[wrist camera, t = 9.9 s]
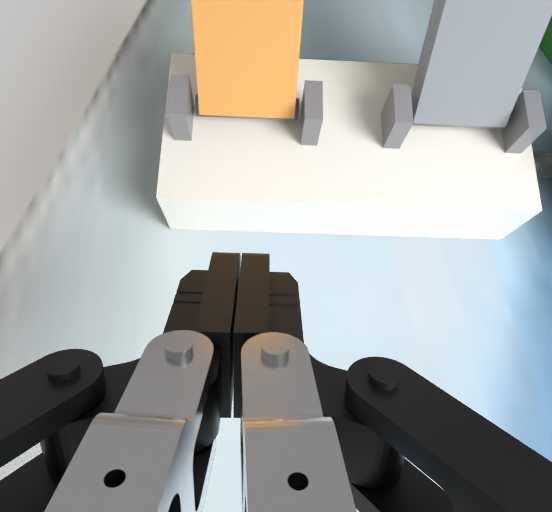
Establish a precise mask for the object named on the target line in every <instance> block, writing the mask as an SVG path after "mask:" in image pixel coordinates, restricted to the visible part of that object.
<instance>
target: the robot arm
mask: <svg viewBox="0 0 552 512" xmlns="http://www.w3.org/2000/svg"><path fill="white" fill-rule="evenodd" d="M233 388H234V418H241V433H240V453H241V492H242V512H356V509H357V510H358V511H359V512H552V462H551V461H549V460H548V459H546V458H545V457H543V456H542V455H540V454H539V453H537V452H536V451H534V450H532V449H531V448H529V447H528V446H526V445H525V444H523V443H522V442H520V441H519V440H517V439H516V438H514V437H513V436H511V435H510V434H508V433H507V432H505V431H504V430H502V429H501V428H499V427H498V426H496V425H495V424H493V423H492V422H490V421H489V420H487V419H486V418H484V417H483V416H481V415H480V414H478V413H477V412H475V411H473V410H472V409H470V408H469V407H467V406H466V405H464V404H463V403H461V402H460V401H458V400H457V399H455V398H454V397H452V396H451V395H449V394H448V393H446V392H445V391H443V390H442V389H440V388H439V387H437V386H436V385H434V384H433V383H431V382H430V381H428V380H427V379H425V378H424V377H422V376H421V375H419V374H418V373H416V372H414V371H413V370H411V369H410V368H408V367H407V366H405V365H404V364H402V363H400V362H398V361H395V360H392V359H389V358H384V357H367V358H363V359H360V360H358V361H356V362H354V363H353V364H352V365H351V366H350V368H349V369H348V371H346V370H342V369H338V368H334V367H331V366H328V365H325V364H323V363H321V362H319V361H318V360H316V359H315V358H313V357H312V356H311V355H310V354H309V351H308V349H307V347H306V345H305V344H304V340H303V330H302V320H301V310H300V300H299V290H298V283H297V281H296V280H295V279H294V278H293V277H292V276H291V274H290V273H287V272H269V254H258V253H242V260H241V269H240V253H220V252H213V253H212V257H211V261H210V265H209V270H191V271H190V272H189V273H188V274H187V275H186V276H184V277H183V278H182V279H181V280H180V283H179V286H178V289H177V294H176V295H175V298H174V303H173V305H172V308H171V311H170V314H169V317H168V320H167V323H166V326H165V329H164V332H163V334H162V335H159V336H157V337H156V338H154V339H153V340H152V341H150V343H149V344H148V345H147V346H146V348H145V350H144V352H143V354H142V356H141V358H139V359H137V360H134V361H131V362H127V363H122V364H117V365H112V366H107V367H103V364H102V360H101V359H100V357H99V356H98V355H97V354H95V353H93V352H91V351H88V350H83V349H68V350H62V351H58V352H55V353H52V354H49V355H47V356H45V357H43V358H41V359H39V360H37V361H35V362H33V363H31V364H29V365H27V366H25V367H23V368H22V369H20V370H18V371H16V372H14V373H12V374H10V375H8V376H6V377H4V378H2V379H0V468H1V467H2V466H4V465H5V464H7V463H8V462H10V461H11V460H13V459H14V458H16V457H18V456H19V455H21V454H22V453H24V452H25V451H27V450H28V449H30V448H31V447H33V446H35V445H36V444H38V443H39V442H40V445H41V449H42V453H41V454H40V455H38V456H37V457H35V458H34V459H32V460H31V461H29V462H28V463H26V464H25V465H23V466H22V467H20V468H19V469H17V470H16V471H14V472H13V473H11V474H10V475H8V476H7V477H5V478H4V479H2V480H1V481H0V512H202V511H203V506H204V502H205V497H206V493H207V488H208V483H209V479H210V474H211V469H212V465H213V460H214V455H215V451H216V436H217V434H218V430H219V423H220V418H231V409H232V399H233ZM405 457H406V458H407V459H408V460H409V461H410V462H412V463H413V464H414V465H415V466H417V467H418V468H419V469H420V470H421V471H423V472H424V473H425V474H426V475H427V476H429V477H430V478H431V479H432V480H434V481H435V482H436V483H437V484H438V485H440V486H441V487H442V488H443V489H444V490H443V489H441V488H440V487H439V486H438V485H437V484H435V483H434V482H433V481H432V480H430V479H429V478H428V477H427V476H426V475H424V474H423V473H422V472H421V471H420V470H418V469H417V468H416V467H415V466H413V465H412V464H411V463H410V462H409V461H407V460H406V459H405Z"/></svg>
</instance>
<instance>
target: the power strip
mask: <svg viewBox="0 0 552 512" xmlns="http://www.w3.org/2000/svg"><path fill="white" fill-rule="evenodd" d="M417 68H418V64H402V63H380V62H358V61H335V60H313V59H299V68H298V80H297V93H296V98H299V117H298V120H276V119H251V118H226V117H201V116H196V112H195V97H196V94H198V89H197V75H196V61H195V54H179V53H171V57H170V67H169V77H168V86H167V96H166V106H165V116H164V125H163V135H162V145H161V154H160V164H159V174H158V183H157V193H156V198H157V200H158V203H159V205H160V207H161V209H162V211H163V214H164V216H165V218H166V220H167V222H168V225H169V227H170V229H191V230H222V231H253V232H284V233H315V234H346V235H377V236H408V237H439V238H469V239H500V240H501V239H503V238H504V237H505V236H507V235H508V234H510V233H511V232H513V231H514V230H515V229H517V228H518V227H520V226H521V225H523V224H524V223H525V222H527V221H528V220H530V219H531V218H533V217H534V216H535V215H537V214H538V213H540V212H541V211H542V206H541V200H540V193H539V187H538V181H537V178H552V152H533V150H532V144H531V143H532V142H533V141H534V140H535V139H537V138H538V137H539V136H540V135H541V134H542V133H543V132H544V131H545V130H546V129H547V127H546V121H545V115H544V109H543V104H542V98H541V92H540V90H523V89H522V88H521V91H520V93H519V96H518V98H517V100H516V103H515V105H514V108H513V110H512V112H511V117H510V121H509V124H508V126H507V127H506V128H505V129H494V128H469V127H445V126H420V125H413V110H412V98H411V92H412V88H413V84H414V80H415V76H416V72H417Z"/></svg>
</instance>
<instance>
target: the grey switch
mask: <svg viewBox="0 0 552 512" xmlns="http://www.w3.org/2000/svg"><path fill="white" fill-rule="evenodd" d="M551 16H552V0H435V1H434V5H433V9H432V13H431V17H430V21H429V25H428V29H427V33H426V37H425V41H424V44H423V48H422V52H421V56H420V60H419V64H418V68H417V72H416V76H415V80H414V84H413V88H412V92H411V98H412V110H413V125H420V126H445V127H469V128H494V129H505V128H506V127H507V126H508V124H509V121H510V117H511V112H512V110H513V108H514V105H515V103H516V100H517V98H518V96H519V93H520V91H521V88H522V86H523V83H524V81H525V79H526V76H527V74H528V71H529V69H530V67H531V64H532V62H533V59H534V57H535V55H536V52H537V50H538V47H539V45H540V43H541V40H542V38H543V35H544V33H545V30H546V28H547V26H548V23H549V21H550V18H551Z"/></svg>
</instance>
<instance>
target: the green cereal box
mask: <svg viewBox="0 0 552 512" xmlns="http://www.w3.org/2000/svg"><path fill="white" fill-rule="evenodd" d="M539 47H540V48H541V50H542V51H543V52H544V54H545V55H546V57H547V58H548V59H549V61H550V62H551V63H552V16H551V18H550V21H549V23H548V26H547V28H546V30H545V33H544V35H543V38H542V40H541V43H540V45H539Z"/></svg>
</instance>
